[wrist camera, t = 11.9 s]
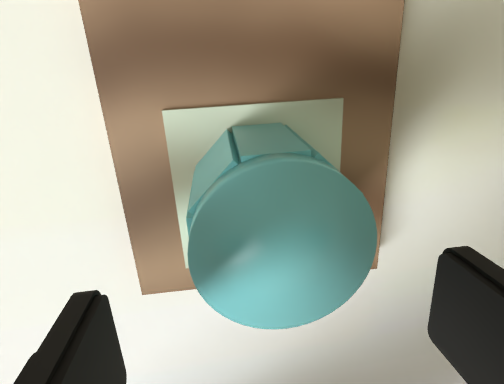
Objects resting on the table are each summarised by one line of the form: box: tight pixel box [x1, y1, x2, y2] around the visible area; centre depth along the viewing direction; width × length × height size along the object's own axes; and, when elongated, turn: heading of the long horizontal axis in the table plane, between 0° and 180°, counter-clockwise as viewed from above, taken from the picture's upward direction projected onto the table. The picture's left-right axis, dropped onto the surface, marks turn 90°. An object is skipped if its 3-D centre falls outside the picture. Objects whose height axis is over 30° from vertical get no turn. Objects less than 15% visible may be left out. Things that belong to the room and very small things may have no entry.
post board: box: [78, 0, 404, 295], centre depth 12 cm, size 22×13×8 cm, turn 3°
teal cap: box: [186, 123, 377, 329], centre depth 13 cm, size 6×6×6 cm
